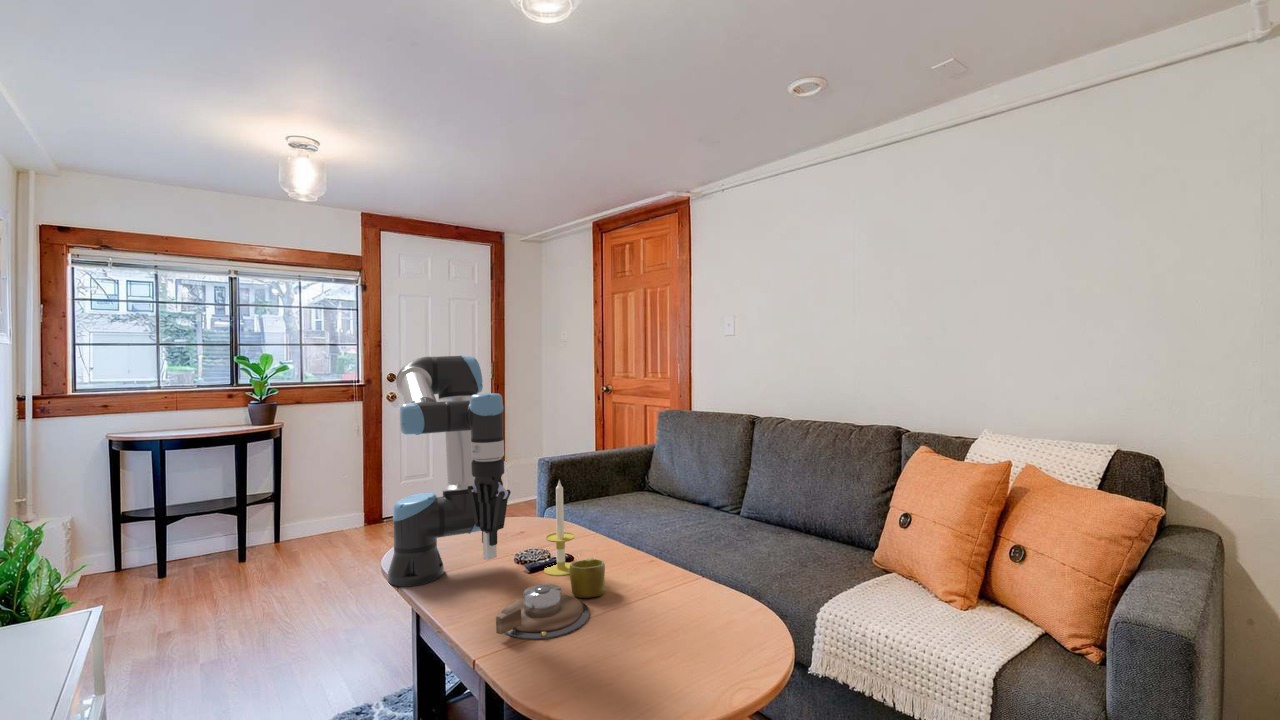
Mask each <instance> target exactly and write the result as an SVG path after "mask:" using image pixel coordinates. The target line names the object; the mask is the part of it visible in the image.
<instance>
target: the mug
mask: <svg viewBox="0 0 1280 720" xmlns="http://www.w3.org/2000/svg"><path fill="white" fill-rule="evenodd" d="M570 563H571V564H570V574H569V578H570V587H571V592H572V595H573V597H574V598H580V599H590V598H595V597H600V596H603V594H604V592H605V590H606V589H605V588H606V586H605V571H606V565H605V562H604V561H603V560H602V559H596V558H595V559H594V558H593V557H589V558H586V559H581V560H576V561H573V562H570Z"/></svg>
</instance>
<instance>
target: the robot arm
mask: <svg viewBox="0 0 1280 720" xmlns="http://www.w3.org/2000/svg"><path fill="white" fill-rule="evenodd" d="M395 382H396V387H397V390H398V392H399V393H400V394H401V396H403V401H404V403H403V404H402V405H400V410H399V420H400V421H399V422H400V423H399V424H400V432H401V433H402V434H403V435H417V436H418V435H423V434H424V435H426V434H438V433H439V434H440V433H445V454H446V474H447V484H446V486H445V487H444V488H443V489H442V496H437V495H436V493H435V492H419V493H415V494H411V495H408V496H405V497H402V498H401V499H399V500H397V501H396V502H395V503H394V506H393V513H392V514H393V515H392V522H393V556H392V558H391V562H390V565H389V568H388V572H387V582H388V583H389V584H390V585H391V586H392V585H393V586H397V587H414V586H421V585H424V584H425V585H426V584H428V583H431V582H432V583H433V582H434V581H436V580H439V579H440V578H442V576H443V575H444V574H445V570H444V569H445V567H444V563H443V560H442V557H441V554H440V552H439V549H438V541H437V540H438V538H444V537H445V538H446V537H453V536H458V535H465V534H469V535H470V534H472V533H476V532H481V543H482V548H483V549H482V550H483V552H482V553H483V554H482V555H483V560H485V561H490V560H493V559H495V558H497V555H498V554H497V545H498V531H499V530H502V529H504V528H505V521H506V514H507V507H508V501H509V498H510V495H511V494H512V493H511V490H510V489H506V488H505V487H504V486H503V485H504V482H503V480H502V477H503V475H504V474H505V459H504V458H503V457H504V456H505V442H504V441H505V440H504V409H505V408H504V407H505V406H504V403H503V396H502V394H500V393H498V392H497V393H495V392H494V393H493V392H491V393H490V392H489V393H485V392H484V393H481V392H482V391H483V389H484V388H483V387H484V385H483V374H482V369H481V366H480V363H479V361H478V360H477V359H476V357H474V356H471V355H469V356H466V355H445V356H442V355H441V356H422V357H418V358H416V359H413V360H412V361H409V362H407V363H406V364H405V365H403V367H401V369H400V370H399V372H398V373H397V375H396V378H395ZM435 395H438V401H437V398H436V396H435Z"/></svg>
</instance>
